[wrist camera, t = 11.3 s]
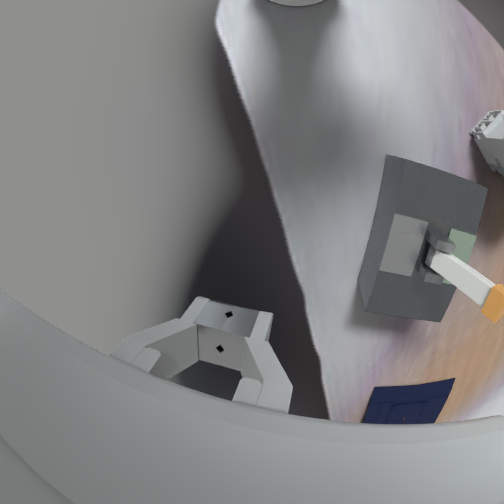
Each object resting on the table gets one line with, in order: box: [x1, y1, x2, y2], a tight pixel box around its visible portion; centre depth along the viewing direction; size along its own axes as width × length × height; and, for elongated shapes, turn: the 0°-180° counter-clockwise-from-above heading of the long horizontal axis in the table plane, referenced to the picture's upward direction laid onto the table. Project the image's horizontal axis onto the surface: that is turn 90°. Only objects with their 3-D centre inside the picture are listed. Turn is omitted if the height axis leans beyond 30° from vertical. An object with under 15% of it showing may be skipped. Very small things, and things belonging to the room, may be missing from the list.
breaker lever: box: [425, 245, 504, 323], centre depth 24 cm, size 3×3×14 cm
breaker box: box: [358, 155, 488, 322], centre depth 34 cm, size 22×14×14 cm, turn 174°
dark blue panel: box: [363, 378, 455, 424], centre depth 57 cm, size 24×30×4 cm
